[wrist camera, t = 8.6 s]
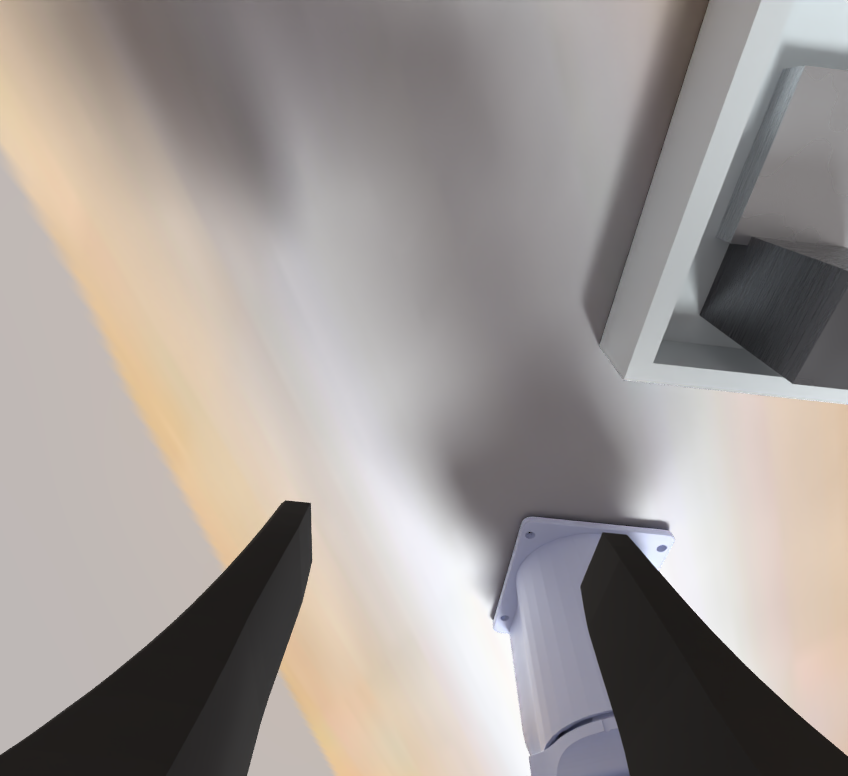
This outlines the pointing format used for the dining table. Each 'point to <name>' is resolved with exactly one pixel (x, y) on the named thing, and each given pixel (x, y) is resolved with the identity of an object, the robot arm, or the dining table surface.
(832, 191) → the grey l-shaped block
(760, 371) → the bin
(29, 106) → the dining table surface
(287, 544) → the robot arm
